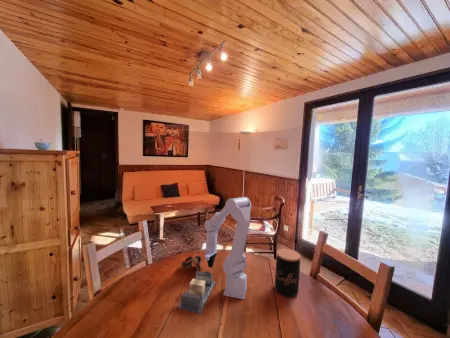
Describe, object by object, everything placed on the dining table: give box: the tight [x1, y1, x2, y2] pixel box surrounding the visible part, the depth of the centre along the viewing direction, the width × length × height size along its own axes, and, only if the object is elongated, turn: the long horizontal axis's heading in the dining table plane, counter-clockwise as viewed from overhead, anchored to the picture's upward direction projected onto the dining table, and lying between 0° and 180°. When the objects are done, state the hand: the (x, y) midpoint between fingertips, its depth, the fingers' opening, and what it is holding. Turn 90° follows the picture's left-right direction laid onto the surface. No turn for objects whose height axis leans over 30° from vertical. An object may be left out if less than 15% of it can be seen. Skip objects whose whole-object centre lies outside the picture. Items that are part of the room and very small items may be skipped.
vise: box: [177, 280, 216, 315], centre depth 89 cm, size 10×20×5 cm, turn 167°
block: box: [188, 278, 205, 297], centre depth 89 cm, size 6×4×5 cm, turn 77°
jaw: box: [195, 270, 213, 285], centre depth 98 cm, size 8×7×4 cm
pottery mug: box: [181, 254, 202, 274], centre depth 109 cm, size 12×10×8 cm
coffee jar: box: [274, 248, 301, 298], centre depth 94 cm, size 11×11×18 cm
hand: (210, 266), depth 107 cm, fingers closed
